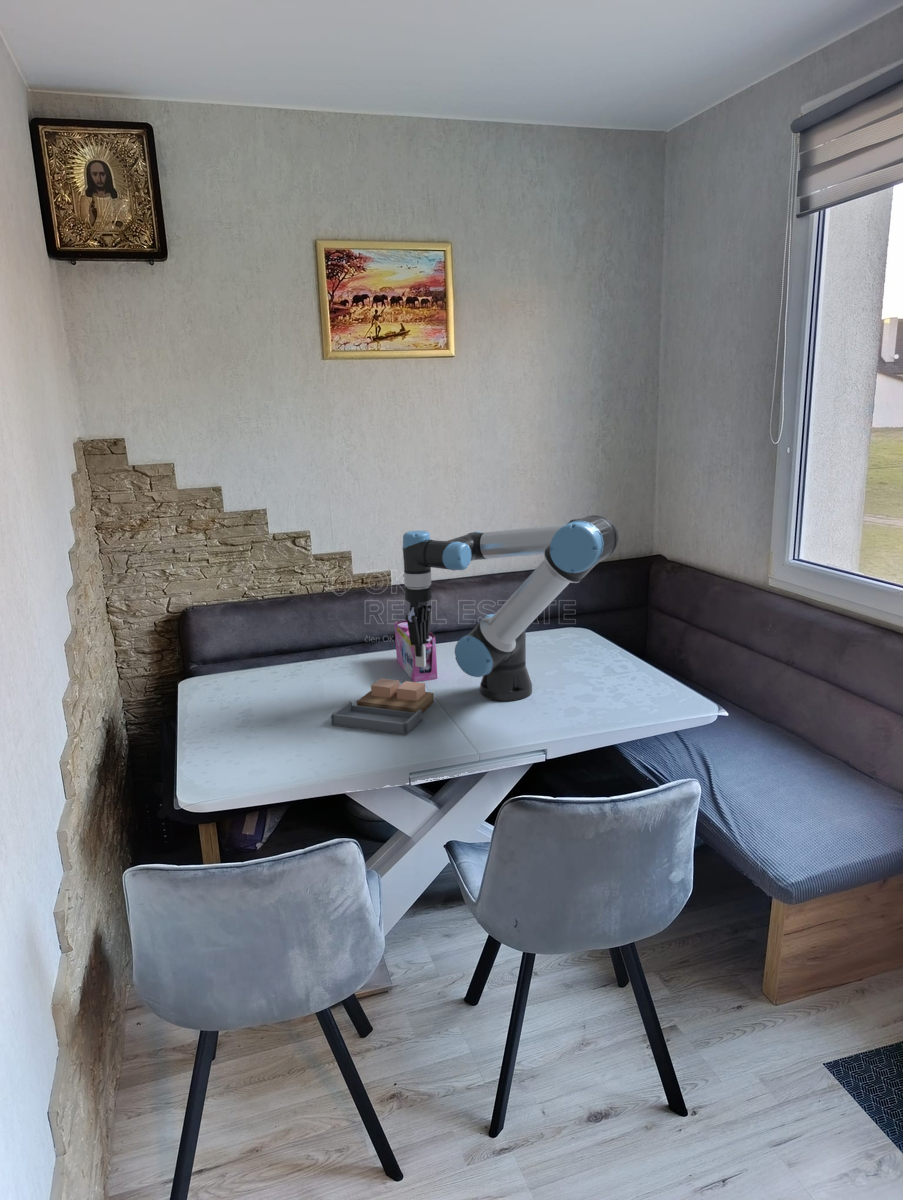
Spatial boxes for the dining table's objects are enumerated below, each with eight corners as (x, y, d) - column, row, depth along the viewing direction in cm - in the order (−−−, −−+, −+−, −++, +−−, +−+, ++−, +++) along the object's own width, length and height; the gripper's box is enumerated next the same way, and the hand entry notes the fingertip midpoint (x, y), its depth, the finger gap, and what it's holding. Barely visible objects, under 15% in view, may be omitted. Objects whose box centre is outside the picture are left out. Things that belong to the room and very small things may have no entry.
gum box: (439, 680, 236) (437, 638, 232) (414, 684, 233) (412, 641, 230) (418, 657, 258) (417, 618, 254) (395, 660, 255) (393, 621, 252)
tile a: (425, 693, 217) (424, 683, 216) (416, 700, 212) (416, 690, 211) (406, 691, 219) (405, 681, 219) (397, 698, 214) (396, 688, 213)
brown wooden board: (433, 702, 218) (433, 692, 217) (416, 718, 207) (415, 708, 206) (377, 695, 225) (376, 686, 224) (357, 711, 214) (356, 701, 213)
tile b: (399, 690, 220) (399, 680, 219) (390, 697, 215) (390, 687, 214) (381, 688, 222) (380, 678, 222) (371, 695, 217) (370, 685, 216)
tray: (422, 720, 206) (421, 710, 205) (406, 735, 197) (405, 724, 196) (350, 711, 214) (349, 701, 213) (331, 725, 205) (331, 714, 204)
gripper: (415, 580, 223) (418, 657, 229) (395, 590, 211) (399, 671, 217) (439, 582, 220) (441, 660, 226) (420, 592, 208) (423, 674, 214)
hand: (420, 665), depth 221 cm, fingers closed
